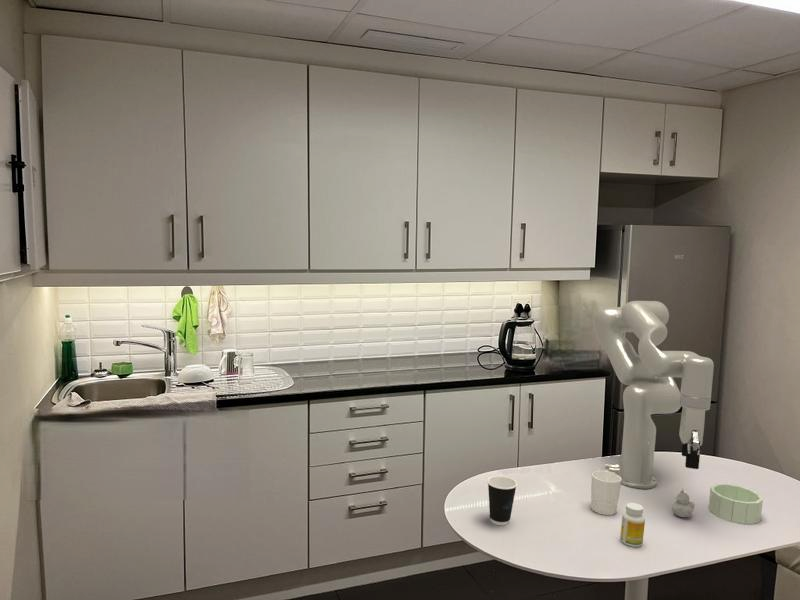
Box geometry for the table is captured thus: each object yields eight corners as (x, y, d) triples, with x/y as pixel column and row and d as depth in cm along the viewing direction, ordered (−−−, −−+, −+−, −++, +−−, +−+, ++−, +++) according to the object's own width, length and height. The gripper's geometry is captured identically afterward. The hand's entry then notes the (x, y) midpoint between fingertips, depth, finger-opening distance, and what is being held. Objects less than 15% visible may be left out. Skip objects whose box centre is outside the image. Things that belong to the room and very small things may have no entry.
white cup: (619, 507, 171) (622, 474, 170) (617, 519, 164) (620, 484, 163) (590, 501, 174) (593, 468, 173) (587, 512, 167) (590, 478, 166)
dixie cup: (512, 530, 155) (515, 490, 154) (482, 525, 157) (484, 485, 156) (516, 517, 162) (519, 478, 161) (487, 511, 165) (489, 473, 163)
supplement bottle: (615, 539, 153) (618, 503, 152) (630, 535, 155) (634, 499, 154) (631, 549, 148) (635, 512, 147) (647, 545, 150) (650, 509, 149)
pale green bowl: (712, 518, 166) (714, 497, 166) (706, 500, 178) (708, 480, 178) (764, 527, 162) (766, 506, 162) (754, 508, 174) (756, 488, 173)
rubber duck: (666, 512, 169) (669, 485, 168) (686, 510, 171) (688, 483, 170) (679, 521, 164) (682, 493, 163) (699, 519, 166) (702, 491, 165)
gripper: (676, 392, 173) (672, 450, 175) (683, 407, 157) (677, 470, 158) (705, 396, 170) (700, 454, 172) (715, 411, 154) (709, 475, 156)
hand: (689, 462), depth 165 cm, fingers open, 9 cm apart
